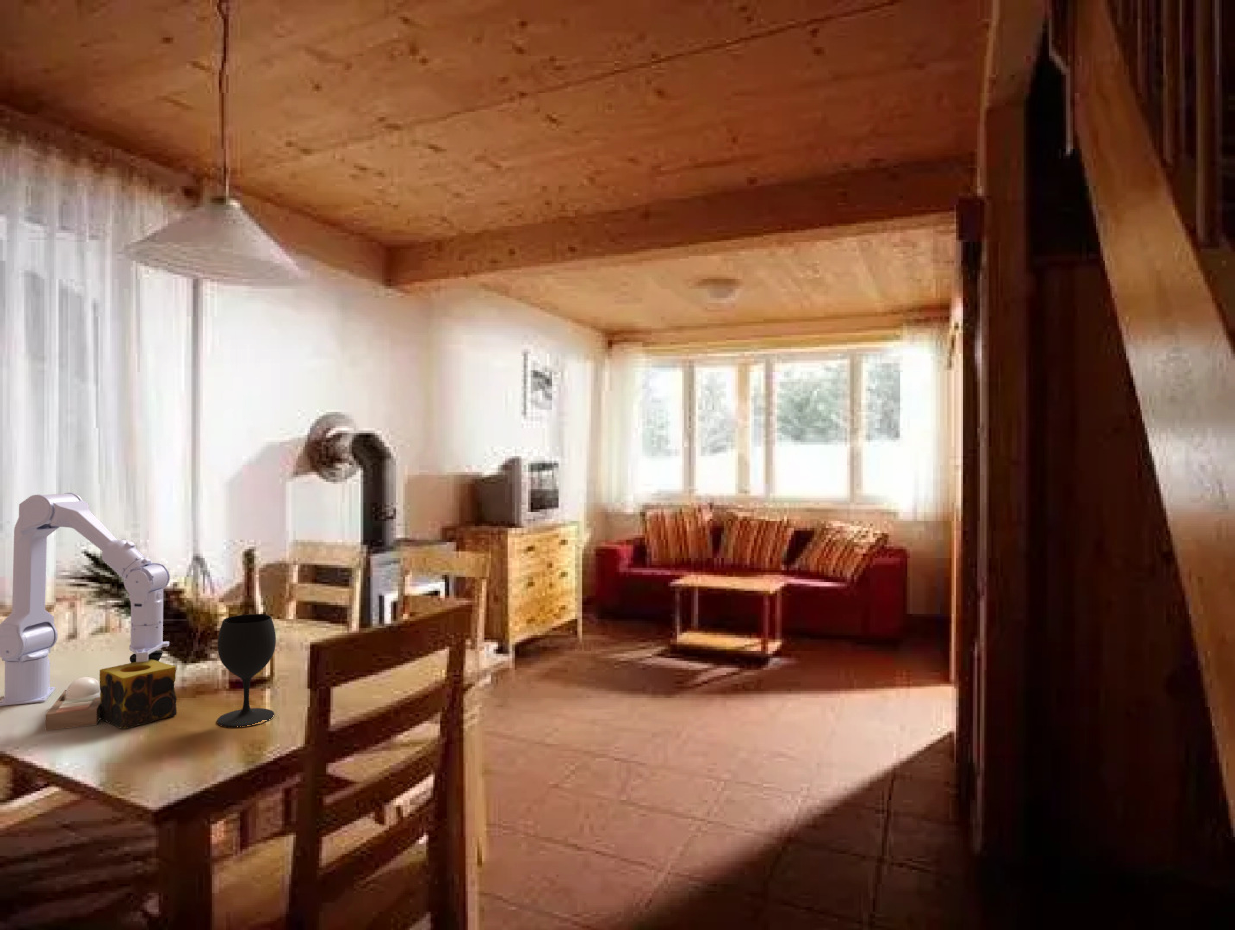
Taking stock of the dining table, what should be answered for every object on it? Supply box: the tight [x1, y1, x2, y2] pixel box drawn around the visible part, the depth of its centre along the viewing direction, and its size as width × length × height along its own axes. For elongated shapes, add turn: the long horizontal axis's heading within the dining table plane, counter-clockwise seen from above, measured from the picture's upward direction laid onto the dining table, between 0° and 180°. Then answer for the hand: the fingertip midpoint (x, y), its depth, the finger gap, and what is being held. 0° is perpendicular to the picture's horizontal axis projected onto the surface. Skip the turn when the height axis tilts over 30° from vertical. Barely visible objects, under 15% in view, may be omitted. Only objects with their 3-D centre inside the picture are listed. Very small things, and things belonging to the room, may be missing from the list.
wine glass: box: [216, 613, 277, 728], centre depth 150 cm, size 10×10×20 cm
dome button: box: [65, 676, 101, 700], centre depth 154 cm, size 6×6×6 cm
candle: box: [99, 659, 177, 729], centre depth 150 cm, size 10×10×10 cm
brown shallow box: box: [44, 689, 101, 731], centre depth 151 cm, size 16×8×3 cm, turn 26°
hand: (146, 687), depth 158 cm, fingers closed
